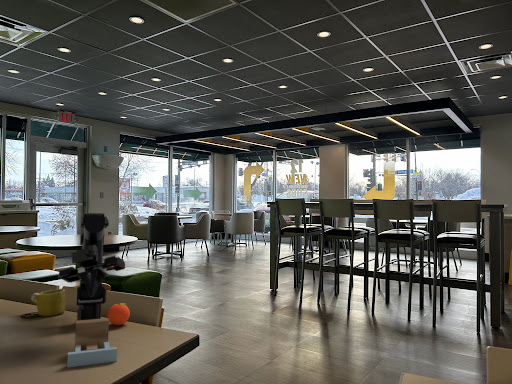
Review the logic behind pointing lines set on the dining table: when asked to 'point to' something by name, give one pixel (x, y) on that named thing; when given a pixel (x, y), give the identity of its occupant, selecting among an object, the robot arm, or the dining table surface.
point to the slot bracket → (92, 356)
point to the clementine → (118, 314)
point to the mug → (49, 302)
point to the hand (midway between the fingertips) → (91, 296)
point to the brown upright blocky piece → (92, 333)
